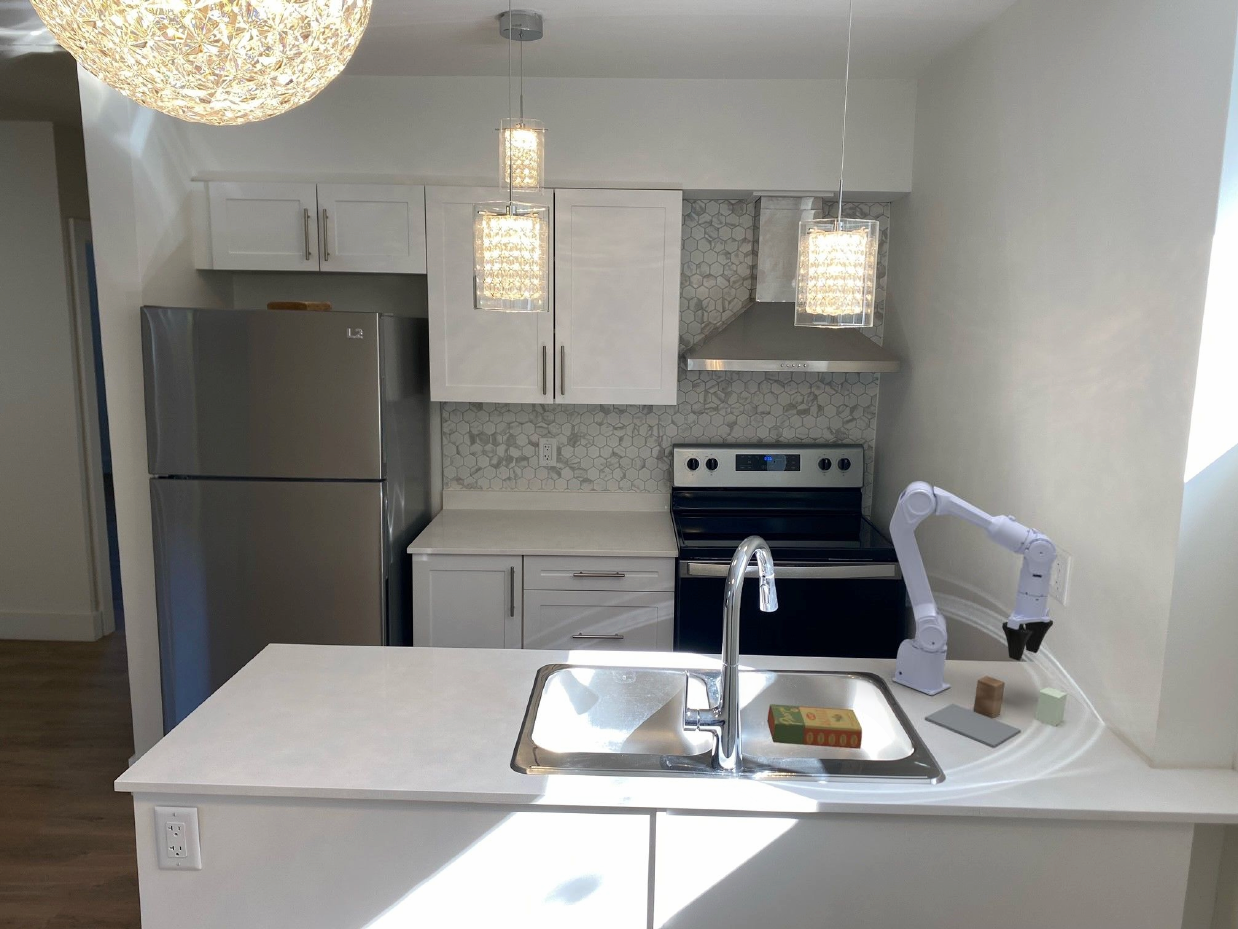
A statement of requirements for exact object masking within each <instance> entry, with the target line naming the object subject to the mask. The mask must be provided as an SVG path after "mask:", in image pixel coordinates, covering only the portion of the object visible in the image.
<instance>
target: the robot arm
mask: <svg viewBox="0 0 1238 929" xmlns="http://www.w3.org/2000/svg"><path fill="white" fill-rule="evenodd" d="M934 510H935V516H941V515H949V514H950V515H952V516H954V517H957V518H959V519H960V520H963V521H964V522H967V523H969V524H971V525H973V526H976V527H977V528H978V529H979V528H980V529H981V530H984V531H985V532H986V535H987V538H988V540H990V541H991V542H993V543H995V544H997V545H999V546H1000V547H1003V548H1004V549H1007V550H1009V551H1010V552H1012V553H1014V554H1016V555H1023V558H1022V564H1021V566H1020V567H1021V568H1020V571H1019V577H1018V585H1017V592H1016V598H1015V604H1014V609H1013V610H1012V613H1011V615H1010V616H1009V617H1008V619H1007V621H1004V622H1003V623H1002V624H1001V625H1002V626H1001V628H1002V631H1003V633H1004V635H1005V638H1006V643H1007V644H1006V645H1007V651H1008V658H1010V659H1011V660H1016V661H1018V662H1019V661H1021V660H1022V657H1023V655H1024V651H1028V652H1030V653H1033V654H1037V653H1038V651H1039V650H1040V648H1041V644H1042V642H1043V640H1044V638H1045V636H1046V634H1047V633H1048V631H1049V630H1050V629H1051V627H1053V625H1054V621H1053V620H1051V617H1050V608H1049V607H1047V603H1048V597H1049V596H1048V595H1049V590H1050V585H1051V584H1050V583H1051V577H1052V573H1051V572H1052V567H1053V564H1054V562H1055V561H1056V560H1057V557H1058V553H1057V549H1056V546H1055V544H1054V543H1053V541H1052V540H1051V538H1050V537H1049V536H1048V535H1046V534H1045V533H1043V532H1041V531H1038V529H1036V528H1034V527H1032V528H1029V527H1027V526H1025V525H1023V524H1021V523H1020V522H1017V521H1016V517H1014V516H1012V515H1010V514H1009V515H1008V516H1006V515H1004V514H1001V515H997V516H992V515H991V514H988V513H987V512H985V511H983V510H982V509H979V508H978V507H975V506H974V505H972V504H970V503H969V502H967V501H966V500H963V499H961V498H960V497H958V496H957V495H955V494H953V493H951V492H949V491H947V490H945V489H942V488H940V487H937V486H933V487H932V485H931V484H929V483H928V482H925V481H922V480H920V481H918V480H917V481H913V482H911V483H910V484H908V486H906V488H905V489H904V490H903V491H902V492H901V494H900V495H899V498H898V501H897V503H896V507H895V509H894V512H893V515H892V517H891V520H890V524H889V534H890V536H891V540H892V543H893V546H894V549H895V553H896V558H897V560H898V562H899V566H900V568H901V569H900V570H901V574H902V576H903V580H904V583H905V586H906V590H907V593H908V596H909V599H910V603H911V606H912V611H913V614H914V615H913V616H914V620H915V627H916V628H915V630H916V632H915V637H914V638H912V639H910V638H907V639H904V640H903V641H902V642H901V643H900V645H899V648H898V650H897V655H896V663H895V670H894V671H895V673H894V677H893V678H892V681H893V682H895V683H899V684H901V685H904V686H906V687H909V688H912V689H914V690H917V691H919V692H921V693H925V694H926V695H929V696H934V695H936V694H939V693H941V692H943V691H945V690H947V689H949V688H951V684H949V683H946V682H944V674H945V667H946V659H947V651H948V645H947V643H948V633H947V620H946V617H945V616H944V615H943V614H941V612H940V611H939V610H938V606H937V604H936V600H935V599H934V596H933V592H932V590H931V589H932V588H931V585H930V582H929V579H928V576H927V573H926V568H925V566H924V562H923V560H922V559H923V558H922V556H921V553H920V549H919V546H918V542H917V540H916V537H915V532H914V531H915V530H916V528H917V527H918V526H919V524H920V522H922V521H923V520H924V519H926V518H927V517H928V516H930V515H931V514H932V513H933V512H934ZM1025 649H1026V650H1025Z"/></svg>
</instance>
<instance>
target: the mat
mask: <svg viewBox="0 0 1238 929" xmlns="http://www.w3.org/2000/svg"><path fill="white" fill-rule="evenodd" d="M924 720H925V721H927V722H930V723H932V724H935V725H937V726H939V727H943V728H945V729H947V730H949V731H952V732H954V733H957V734H959V735H961V736H963V737H967V738H969V739H971V740H973V741H976V742H979V743H981V744H983V745H985V746H988V747H991V748H994V749H995V748H996V747H997V746H1000V745H1002V744H1003V743H1005V742H1006V741H1008V740H1010V739H1011V738H1013V737H1015V736H1016V735H1018V734H1019V733H1021V730H1022V729H1020V728H1017V727H1015V726H1012V725H1010V724H1007V723H1004V722H1002V721H999V720H997V719H995V718H994V719H992V718H989V717H987V716H984V715H981V714H979V713H976V712H974V710H970V709H968V708H966V707H964V706H961V705H958V704H956V703H951V704H950V705H948V706H945V707H943V708H941V709H939V710H937V711H935V712H933V713H930V714H929V715H926V716H924Z"/></svg>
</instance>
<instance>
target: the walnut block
mask: <svg viewBox="0 0 1238 929" xmlns="http://www.w3.org/2000/svg"><path fill="white" fill-rule="evenodd" d="M975 690H976V691H975V698H974V705H973V711H974V712H976V713H979V714H981V715H984V716H987V717H989V718H992V719H993V718H994V719H995V718H997V717H999V716H1001V711H1002V706H1003V697H1004V690H1005V681H1002V680H1000V679H997V678H994V677H991V676H988V675H985V676H983V677H981V678H980V679H979V678H978V679H977V682H976V688H975Z"/></svg>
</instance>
